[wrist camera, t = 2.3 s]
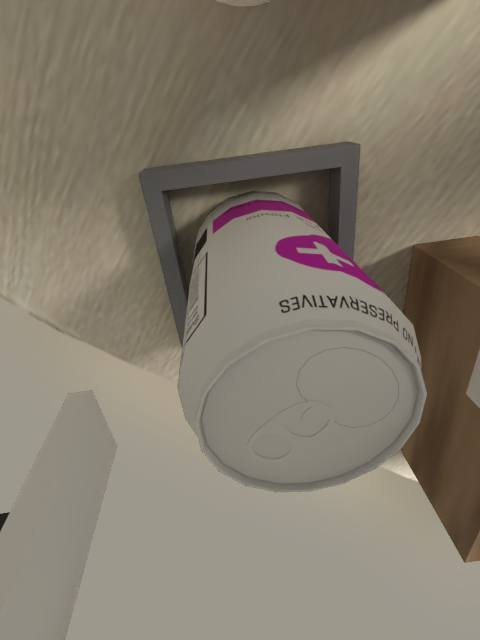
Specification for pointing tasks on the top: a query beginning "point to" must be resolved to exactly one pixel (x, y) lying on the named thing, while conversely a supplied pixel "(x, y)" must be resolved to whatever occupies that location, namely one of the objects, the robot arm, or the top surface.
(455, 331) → the riser block
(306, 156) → the base frame
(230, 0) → the cylinder with rectangular tab
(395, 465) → the top surface
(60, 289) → the top surface
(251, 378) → the supplement can
